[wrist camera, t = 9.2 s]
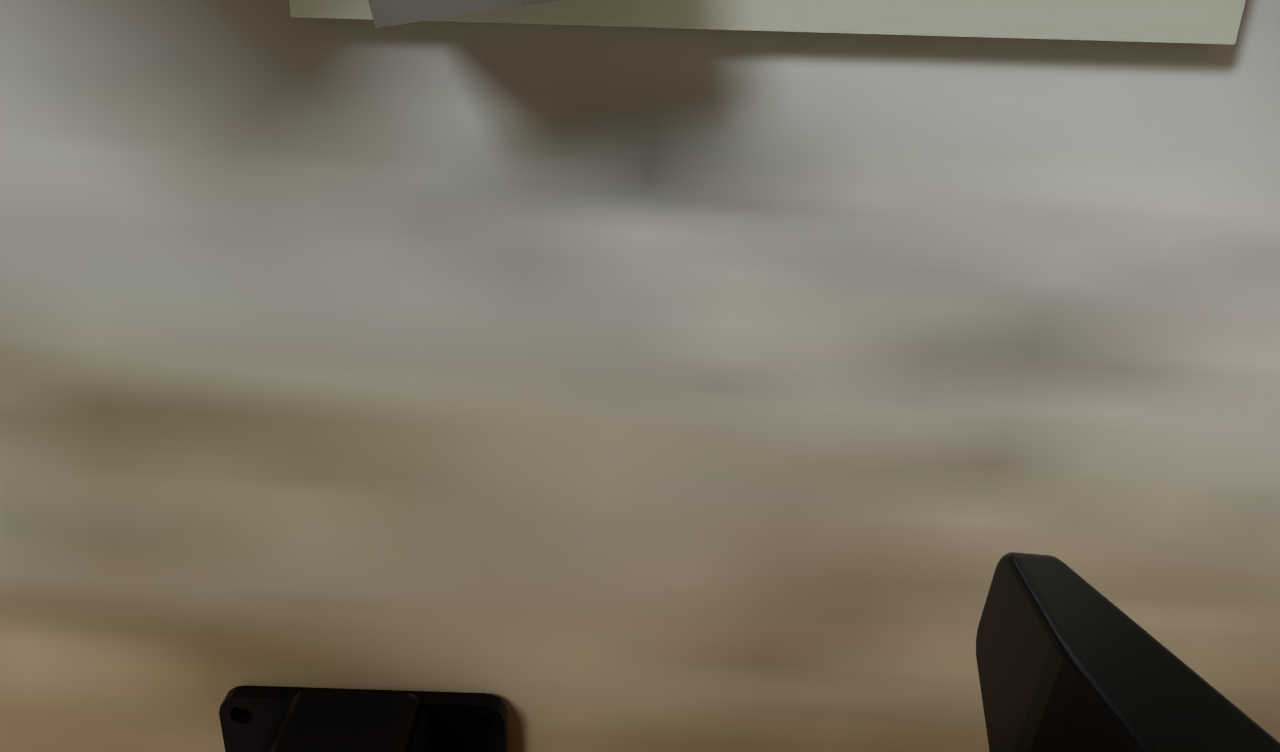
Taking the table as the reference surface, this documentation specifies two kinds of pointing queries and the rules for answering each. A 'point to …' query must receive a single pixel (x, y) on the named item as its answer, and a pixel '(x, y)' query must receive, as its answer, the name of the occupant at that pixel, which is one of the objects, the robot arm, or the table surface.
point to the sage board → (873, 17)
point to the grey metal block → (435, 9)
